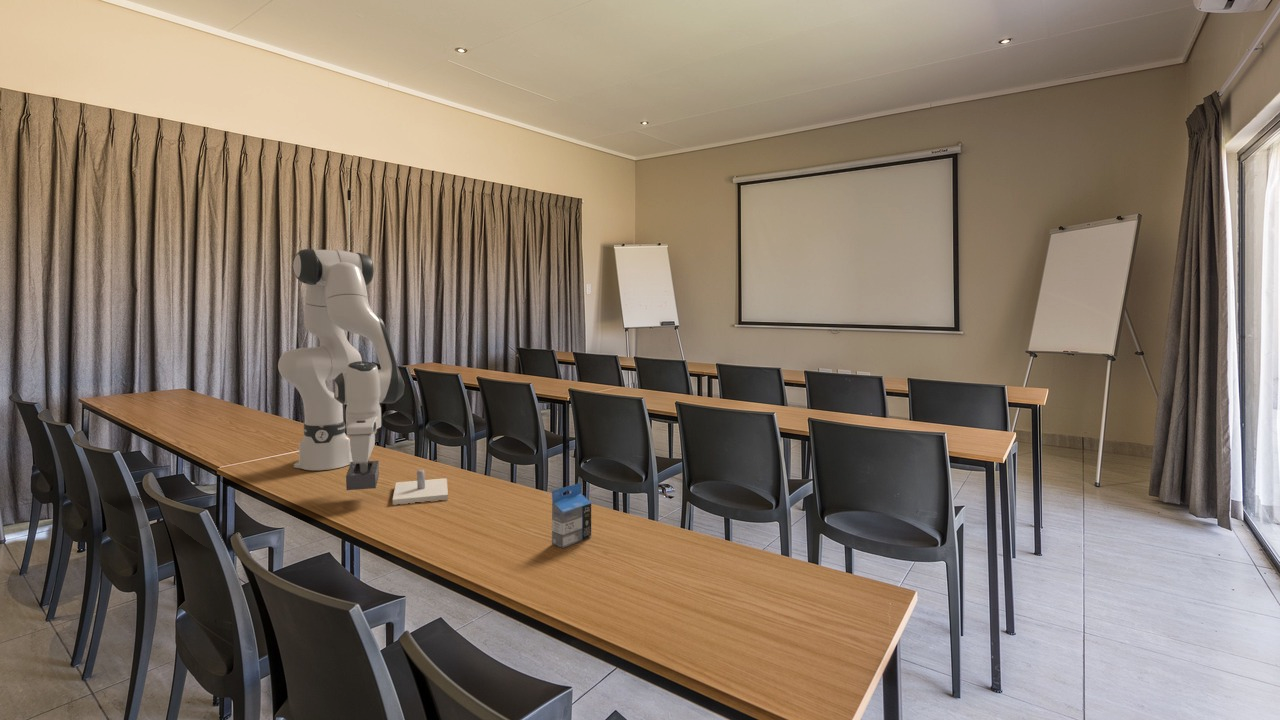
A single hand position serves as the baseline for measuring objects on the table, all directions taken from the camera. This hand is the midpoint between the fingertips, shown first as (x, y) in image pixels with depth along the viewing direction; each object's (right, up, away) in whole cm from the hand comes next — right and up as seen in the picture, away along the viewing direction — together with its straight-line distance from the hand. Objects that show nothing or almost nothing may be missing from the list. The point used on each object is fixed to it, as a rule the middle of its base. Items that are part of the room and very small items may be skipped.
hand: (364, 470), depth 167 cm
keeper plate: (+15, -7, +3) cm, 16 cm away
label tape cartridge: (+61, -11, -30) cm, 68 cm away
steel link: (+1, -3, -4) cm, 4 cm away
